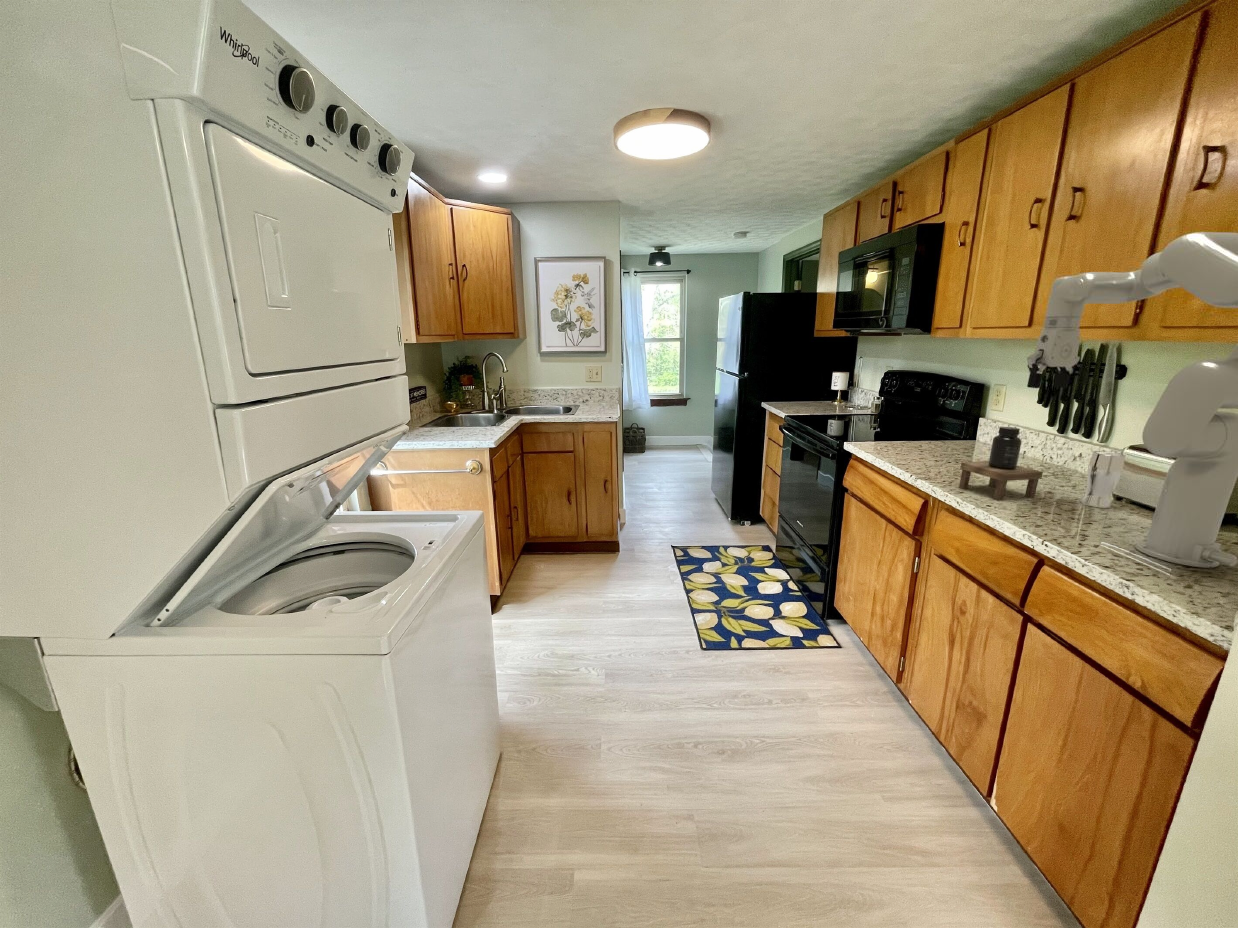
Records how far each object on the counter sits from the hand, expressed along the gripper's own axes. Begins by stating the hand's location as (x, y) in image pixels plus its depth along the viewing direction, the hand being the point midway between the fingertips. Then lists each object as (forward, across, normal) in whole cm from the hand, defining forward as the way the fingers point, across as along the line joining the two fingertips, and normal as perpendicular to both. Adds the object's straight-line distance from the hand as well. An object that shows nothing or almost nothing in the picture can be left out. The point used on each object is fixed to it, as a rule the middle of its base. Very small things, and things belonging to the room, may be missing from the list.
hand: (1046, 387), depth 140 cm
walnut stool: (+32, -4, +5) cm, 33 cm away
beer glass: (+32, +14, -10) cm, 37 cm away
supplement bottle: (+24, -4, +5) cm, 25 cm away
